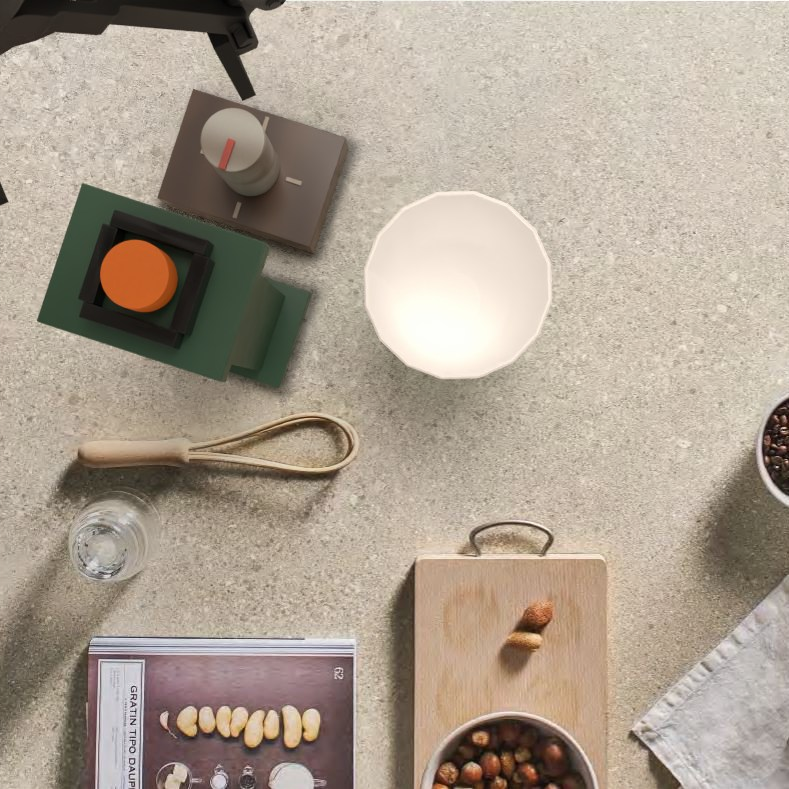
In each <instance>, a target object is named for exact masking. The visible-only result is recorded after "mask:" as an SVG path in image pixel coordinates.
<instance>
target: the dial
mask: <svg viewBox="0 0 789 789" xmlns="http://www.w3.org/2000/svg"><path fill="white" fill-rule="evenodd" d="M201 148H202V151H203V154H204V156H205V157H206V159H207V160H208V161H209V163H210V164H211V165H212V166H213V167H214V169H215V170H216V171H217V172H218V173H219V175H220V176H221V177H222V178H223V179H224V181H225V182H226V183H227V184H228V185H229V187H230V188H231V189H232V190H234V191H235V192H237V193H239V194H241V195H245V196H257V195H260V194H263V193H265V192H267V191H268V190H269V189H270V188H271V187H272V186H273V185H274V184H275V182H276V181H277V178H278V176H279V171H280V163H279V158H278V156H277V154H276V152H275V150H274V148H273V146H272V144H271V142H270V141H269V139H268V137H267V135H266V133H265V131H264V129H263V128H262V126H261V124H260V122H259V121H258V120H257V118H256V117H255V116H253V115H252V114H251V113H249V112H247V111H245V110H243V109H238V108H227V109H223V110H221V111H218V112H217V113H215V114H214V115H212V116H211V117H210V118H209V119H208V120H207V122H206V123H205V125H204V127H203V129H202V133H201Z"/></svg>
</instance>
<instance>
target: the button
mask: <svg viewBox="0 0 789 789" xmlns="http://www.w3.org/2000/svg"><path fill="white" fill-rule="evenodd" d="M100 278H101V283H102V287H103V289H104V291H105V293H106V294H107V296H108V297H109V298H110V299H111V300H112V301H113V302H115V303H116V304H118V305H120V306H122V307H125V308H128V309H131V310H134V311H137V312H152V311H155V310H157V309H160V308H161V307H163V306H164V305H166V304H167V303H168V302H169V301H170V299H171V298H172V297H173V295H174V293H175V291H176V287H177V282H178V275H177V270H176V267H175V265H174V263H173V261H172V259H171V258H170V257H169V256H168V255H167V254H166V253H165V252H163V251H162V250H160V249H159V248H157V247H155V246H154V245H152V244H150V243H148V242H146V241H142V240H128V241H124V242H122V243H119V244H118V245H116V246H115V247H113V248H112V249H111V250H110V251H109V252H108V253H107V255H106V256H105V258H104V260H103V262H102V266H101V271H100Z"/></svg>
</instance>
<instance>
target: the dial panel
mask: <svg viewBox="0 0 789 789" xmlns="http://www.w3.org/2000/svg"><path fill="white" fill-rule="evenodd" d="M227 108H238V109H243V110H245V111H247V112H249V113H251V114H252V115H253V116H255V117H256V118H257V120H258V121H259V122H260V124H261V126H262V128H263V129H264V131H265V133H266V135H267V137H268V139H269V141H270V142H271V144H272V146H273V148H274V150H275V152H276V154H277V156H278V158H279V163H280V171H279V176H278V178H277V181H276V182H275V184H274V185H273V186H272V187H271V188H270V189H269V190H268V191H267V192H265V193H263V194H260V195H257V196H245V195H241V194H239V193H237V192H235V191H234V190H232V189H231V188H230V187H229V185H228V184H227V183H226V182H225V181H224V179H223V178H222V177H221V176H220V175H219V173H218V172H217V171H216V170H215V169H214V167H213V166H212V165H211V164H210V163H209V161H208V160H207V159H206V157H205V156H204V154H203V151H202V148H201V133H202V129H203V127H204V125H205V123H206V122H207V120H208V119H209V118H210V117H211V116H212V115H214V114H215V113H217V112H218V111H221V110H223V109H227ZM178 130H179V131H178V133H177V136H176V140H175V142H174V146H173V148H172V152H171V155H170V157H169V160H168V164H167V167H166V170H165V173H164V176H163V178H162V183H161V185H160V187H159V191H158V194H157V199H158V200H159V201H160V202H161V203H163V204H164V205H166V206H167V207H170V208H172V209H176V210H179V211H182V212H185V213H188V214H191V215H195V216H198V217H201V218H204V219H207V220H210V221H213V222H216V223H219V224H222V225H225V226H229V227H231V228H235V229H237V230H241V231H243V232H247V233H250V234H252V235H256V236H259V237H263V238H265V239H268V240H272V241H274V242H277V243H280V244H284V245H287V246H289V247H293V248H296V249H298V250H302V251H306V252H308V253H311V254H314V253H315V251H316V247H317V245H318V242H319V239H320V235H321V233H322V229H323V226H324V224H325V221H326V217H327V214H328V212H329V208H330V205H331V202H332V199H333V197H334V193H335V191H336V190H335V189H336V187H337V184H338V181H339V178H340V174H341V172H342V168H343V166H344V162H345V159H346V156H347V154H348V151H349V146H348V141H347V138H346V137H344V136H343V135H339V134H336V133H332V132H329V131H327V130H323V129H320V128H317V127H313V126H311V125H307V124H305V123H301V122H298V121H295V120H292V119H289V118H285V117H284V116H283V117H282V116H279V115H276V114H273V113H270V112H268V111H264V110H261V109H258V108H255V107H251V106H248V105H245V104H242V103H240V102H237V101H233V100H230V99H226V98H223V97H220V96H217V95H214V94H211V93H208V92H204V91H202V90H199V89H195V88H193V89H192V91H191V93H190V97H189V100H188V102H187V106H186V109H185V111H184V115H183V118H182V121H181V124H180V127H179V129H178Z"/></svg>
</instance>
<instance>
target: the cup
mask: <svg viewBox="0 0 789 789" xmlns="http://www.w3.org/2000/svg"><path fill="white" fill-rule="evenodd" d="M362 270H363V273H362V274H363V306H364V309H365V311H366V313H367V315H368V317H369V320H370V322H371V324H372V326H373V329H374V331H375V333H376V335H377V338H378V340H379V342H381V343H382V344H383V345H384V346H385V347H386V348H387V349H388V350H389V351H390V352H391V353H392V354H393V355H394V356H396V357H397V358H398V359H399V360H400V361H401V362H402V363H403V364H404V365H405V367H408V368H411V369H413V370H416V371H419V372H421V373H425V374H427V375H430V376H432V377H435V378H437V379H439V380H462V379H463V380H465V379H480V378H483V377H485V376H487V375H490V374H492V373H494V372H496V371H499V370H501V369H503V368H505V367H508V366H510V365H512V364H514V363H515V362H516V361H517V360H518V359H519V357H521V356H522V354H523V353H525V351H526V350H527V349H528V348H529V347H530V346H531V345H532V344H533V343H534V342H535V341H536V339H538V337H539V336H540V334H541V332H542V329H543V326H544V324H545V321H546V318H547V316H548V313H549V310H550V307H551V306H552V302H553V281H552V280H553V279H552V278H553V276H552V261H551V259H550V257H549V255H548V253H547V251H546V248H545V247H544V244H543V242H542V240H541V237H540V235H539V233H538V231H537V229H536V228H535V227H534V225H532V224H531V223H530V222H529V221H528V220H526V218H524V217H523V216H522V215H521V213H519V212H518V211H517V210H516V209H515V208H514V207H513V206H512V205H510V203H508V202H505V201H503V200H500V199H497V198H494V197H491V196H489V195H486V194H484V193H481V192H478V191H476V190H454V191H453V190H452V191H451V190H449V191H435V192H433V193H430V194H428V195H426V196H424V197H421V198H419V199H417V200H415V201H413V202H410V203H409V204H406V205H404V206H402V207H401V208H400V209H399V210H398V211H397V212H396V213H395V214H394V215H393V216H392V217H391V219H389V221H387V222H386V224H385V225H384V226H383V227H382V228H381V229H380V230H379V231H378V232H377V233H376V234H375V238H374V239H373V243H372V246H371V248H370V250H369V253H368V256H367V258H366V260H365V264H364V267H363V269H362Z"/></svg>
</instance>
